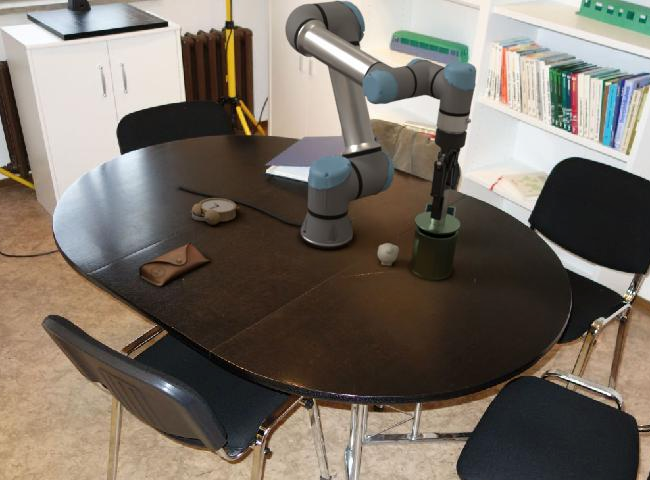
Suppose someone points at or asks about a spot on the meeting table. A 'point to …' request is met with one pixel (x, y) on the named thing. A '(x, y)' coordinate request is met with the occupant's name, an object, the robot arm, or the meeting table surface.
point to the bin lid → (434, 226)
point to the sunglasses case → (172, 265)
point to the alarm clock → (214, 210)
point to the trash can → (433, 254)
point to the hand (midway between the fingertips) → (438, 215)
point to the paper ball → (387, 253)
